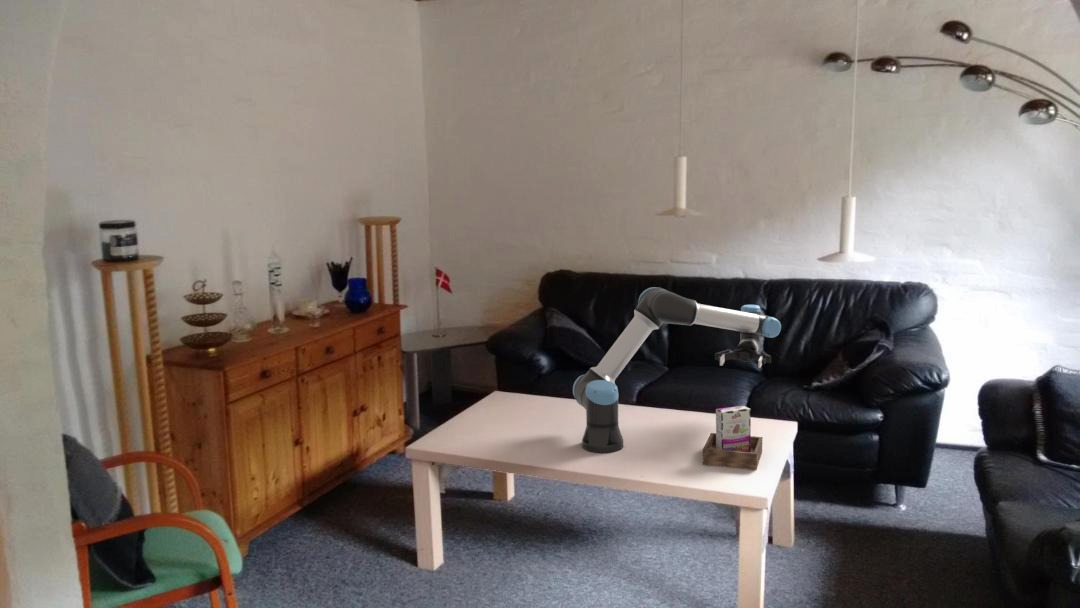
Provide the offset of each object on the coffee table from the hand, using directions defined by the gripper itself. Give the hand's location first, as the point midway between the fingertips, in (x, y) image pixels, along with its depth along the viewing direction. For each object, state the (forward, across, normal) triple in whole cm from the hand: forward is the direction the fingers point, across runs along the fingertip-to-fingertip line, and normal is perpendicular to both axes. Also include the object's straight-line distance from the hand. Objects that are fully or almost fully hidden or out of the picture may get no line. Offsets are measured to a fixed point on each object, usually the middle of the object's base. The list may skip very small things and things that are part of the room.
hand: (740, 363), depth 310 cm
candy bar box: (+17, 0, -29) cm, 33 cm away
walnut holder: (+17, 0, -30) cm, 34 cm away
